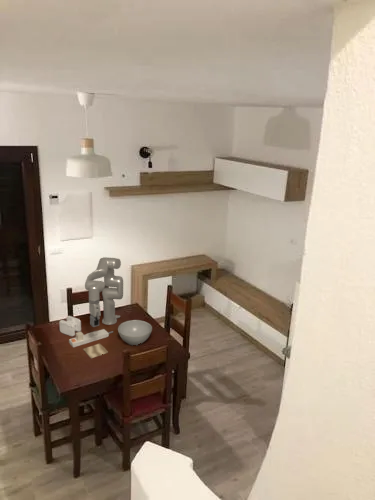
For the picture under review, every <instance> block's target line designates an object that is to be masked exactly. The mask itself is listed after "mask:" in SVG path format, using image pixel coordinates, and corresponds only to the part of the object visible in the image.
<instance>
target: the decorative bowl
mask: <svg viewBox="0 0 375 500" xmlns="http://www.w3.org/2000/svg"><path fill="white" fill-rule="evenodd" d="M117 331H118V334H119V336H120V338H121V339H122V341H123V342H125V343H127V344H128V345H130V346H133V345H136V346H139V345H138V344H140V343H141V344H143V343H144V342H146V341H147V340H148V338H149V337H150V336H151V334H152V331H153V326H152V324H151V323H149V322H147V321H144V320H140V319H133V320H132V319H131V320H126V321H124V322H121V323H120V324H119V325H118V327H117ZM141 344H140V345H141Z"/></svg>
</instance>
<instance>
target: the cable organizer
mask: <svg viewBox="0 0 375 500" xmlns="http://www.w3.org/2000/svg"><path fill="white" fill-rule="evenodd" d="M58 325H59V332H60V333H62V334H63V335H66V336H68V337H69V336H70V337H75V336H76V333H77V332H82V321H81V320H80V318H76V317H74V316H72V315H68V316H66V320H64V319H61V320H59V324H58Z"/></svg>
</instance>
